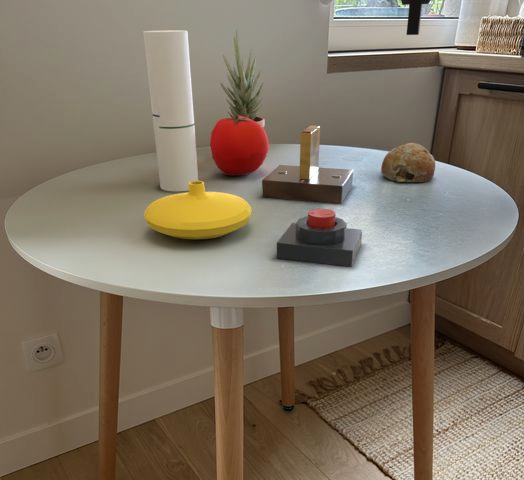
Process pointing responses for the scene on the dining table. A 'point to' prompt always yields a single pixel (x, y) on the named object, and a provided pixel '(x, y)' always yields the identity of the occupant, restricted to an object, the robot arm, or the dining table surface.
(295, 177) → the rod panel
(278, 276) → the dining table surface
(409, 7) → the robot arm
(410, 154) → the bread roll
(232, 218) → the vase
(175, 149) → the cylindrical container
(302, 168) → the upright wooden block
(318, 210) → the red button
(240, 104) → the potted plant
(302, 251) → the button block
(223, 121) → the tomato
